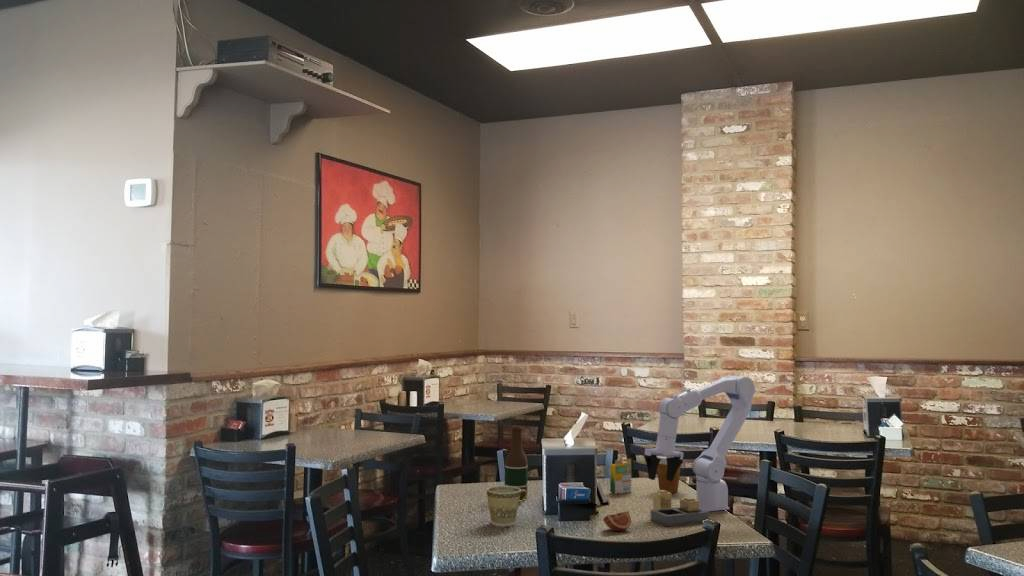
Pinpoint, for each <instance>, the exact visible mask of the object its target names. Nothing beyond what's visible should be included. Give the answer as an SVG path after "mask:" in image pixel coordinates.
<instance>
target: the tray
mask: <svg viewBox="0 0 1024 576" xmlns="http://www.w3.org/2000/svg"><path fill="white" fill-rule="evenodd" d="M709 512H710V511H705V510H702V509H699V501H698V500H696V499H695V498H694V497H691V496H690V497H683V498H679V507H677V506H676V507H671V508H667V509H657V510H653V509H650V521H652V522H655V523H657V524H659V525H661V526H664V527H666V528H667V527H678V526H685V525H687V526H688V525H695V524H702V521H703V520H706V519H709V516H710V515H709ZM709 520H710V519H709Z"/></svg>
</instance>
